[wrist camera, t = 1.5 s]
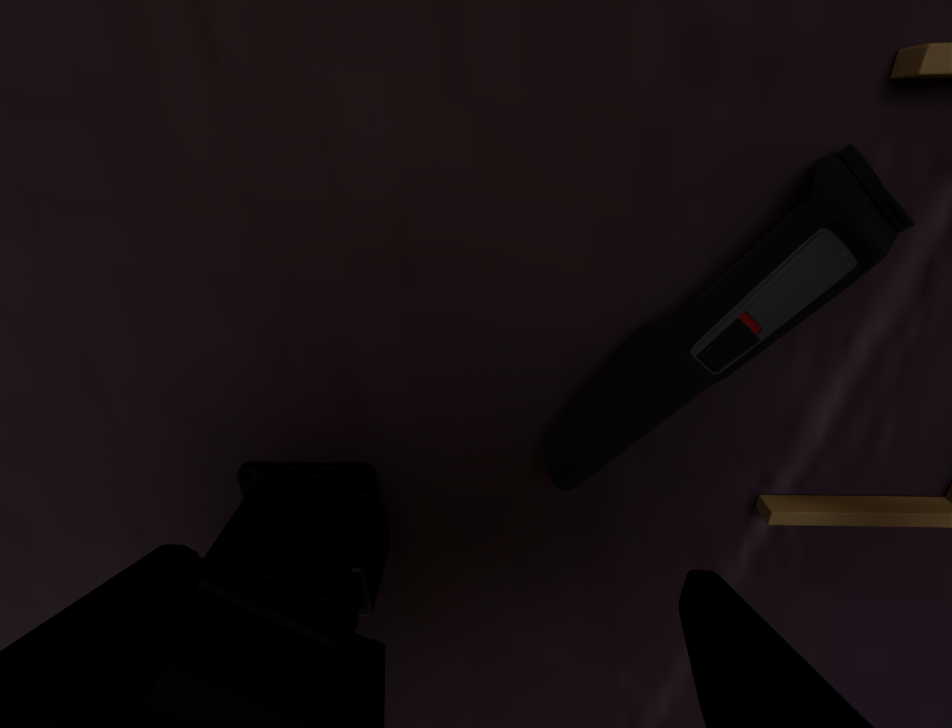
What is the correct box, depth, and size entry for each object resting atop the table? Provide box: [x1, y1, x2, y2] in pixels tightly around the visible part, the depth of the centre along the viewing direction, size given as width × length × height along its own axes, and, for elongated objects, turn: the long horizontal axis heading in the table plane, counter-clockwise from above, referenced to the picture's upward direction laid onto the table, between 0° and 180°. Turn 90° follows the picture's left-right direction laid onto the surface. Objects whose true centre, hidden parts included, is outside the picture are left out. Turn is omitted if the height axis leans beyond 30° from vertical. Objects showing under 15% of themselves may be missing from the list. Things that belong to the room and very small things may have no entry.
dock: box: [755, 43, 952, 528], centre depth 18 cm, size 10×19×2 cm, turn 1°
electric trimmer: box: [546, 144, 915, 491], centre depth 18 cm, size 4×16×3 cm, turn 139°
